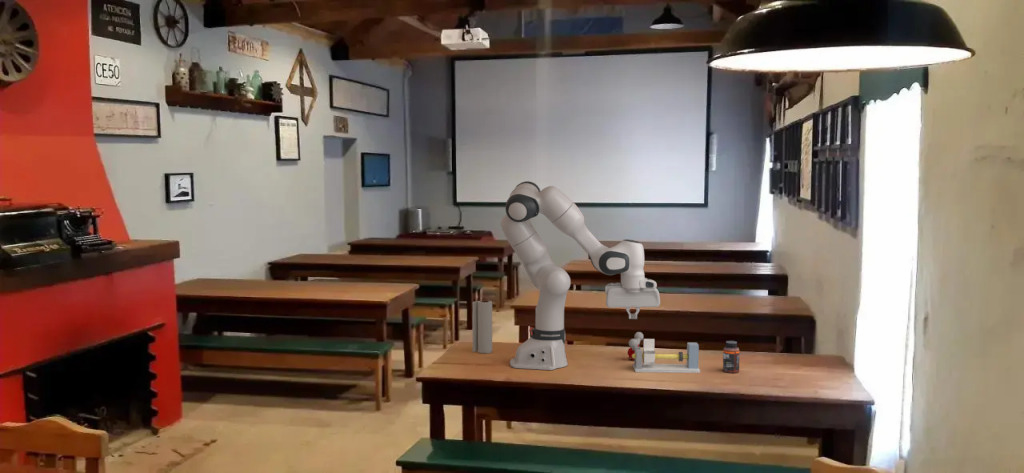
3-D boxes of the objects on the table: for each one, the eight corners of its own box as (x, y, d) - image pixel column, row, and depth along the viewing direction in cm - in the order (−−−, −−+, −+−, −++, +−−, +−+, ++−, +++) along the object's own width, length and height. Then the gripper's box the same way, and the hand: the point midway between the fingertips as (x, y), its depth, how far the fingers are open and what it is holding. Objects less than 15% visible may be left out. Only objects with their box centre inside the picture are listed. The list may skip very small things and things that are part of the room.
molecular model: (638, 365, 306) (638, 340, 305) (623, 364, 307) (624, 339, 306) (644, 355, 322) (645, 331, 321) (631, 354, 324) (631, 330, 323)
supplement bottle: (738, 370, 299) (739, 340, 298) (739, 374, 293) (740, 343, 292) (722, 369, 300) (723, 339, 299) (723, 373, 294) (723, 343, 293)
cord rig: (633, 372, 295) (633, 345, 295) (630, 366, 304) (630, 340, 304) (700, 372, 295) (700, 346, 294) (695, 366, 304) (695, 341, 303)
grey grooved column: (495, 351, 329) (495, 300, 327) (487, 354, 324) (487, 302, 322) (480, 349, 332) (480, 299, 331) (472, 352, 327) (472, 301, 325)
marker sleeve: (644, 364, 297) (644, 340, 296) (642, 361, 302) (642, 337, 301) (654, 364, 297) (655, 340, 296) (653, 361, 302) (653, 337, 301)
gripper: (605, 284, 294) (605, 320, 296) (660, 283, 294) (660, 320, 295) (604, 281, 301) (604, 317, 302) (658, 280, 300) (658, 316, 301)
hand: (632, 318), depth 298 cm, fingers closed
